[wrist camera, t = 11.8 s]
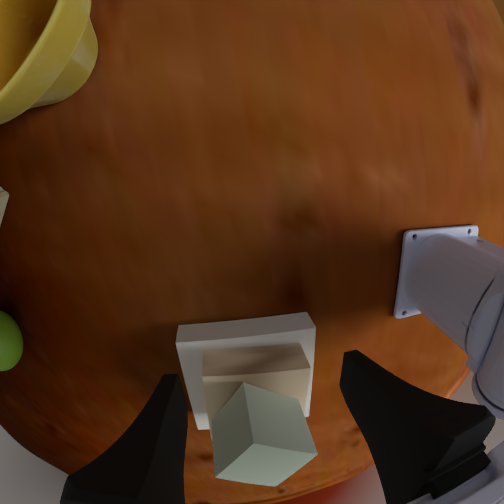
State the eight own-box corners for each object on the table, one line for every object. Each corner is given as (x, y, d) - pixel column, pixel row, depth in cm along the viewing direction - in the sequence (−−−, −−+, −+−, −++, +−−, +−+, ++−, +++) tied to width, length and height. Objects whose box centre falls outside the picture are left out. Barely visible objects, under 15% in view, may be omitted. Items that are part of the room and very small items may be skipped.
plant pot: (148, 72, 16) (99, 14, 7) (34, 158, 17) (-58, 172, 8) (98, -18, 13) (49, -83, 4) (-3, 63, 14) (-80, 43, 4)
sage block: (298, 399, 19) (317, 454, 15) (264, 434, 20) (275, 486, 16) (243, 382, 18) (253, 443, 13) (211, 420, 19) (214, 477, 14)
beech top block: (299, 342, 21) (311, 367, 19) (292, 406, 24) (300, 431, 21) (202, 349, 21) (202, 376, 18) (210, 413, 23) (211, 439, 20)
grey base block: (304, 308, 24) (315, 327, 21) (300, 394, 27) (308, 416, 24) (179, 321, 23) (175, 342, 20) (198, 406, 26) (198, 429, 23)
